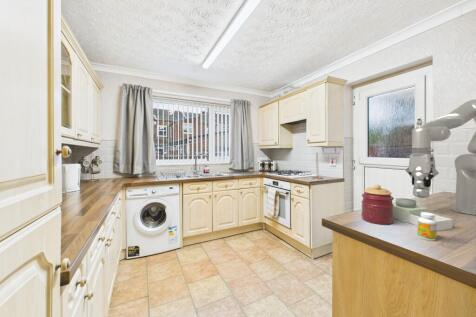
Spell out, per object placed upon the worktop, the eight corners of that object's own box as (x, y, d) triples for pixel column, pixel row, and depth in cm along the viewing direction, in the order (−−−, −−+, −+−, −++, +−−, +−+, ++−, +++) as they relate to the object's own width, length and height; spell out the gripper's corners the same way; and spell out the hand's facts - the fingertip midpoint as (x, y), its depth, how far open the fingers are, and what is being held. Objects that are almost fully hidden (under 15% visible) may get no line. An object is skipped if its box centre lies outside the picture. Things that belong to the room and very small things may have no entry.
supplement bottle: (413, 235, 84) (414, 211, 84) (426, 234, 85) (427, 211, 84) (427, 241, 79) (428, 216, 78) (440, 240, 79) (441, 215, 79)
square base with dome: (402, 213, 112) (402, 196, 112) (453, 228, 91) (454, 208, 91) (384, 215, 109) (385, 198, 109) (433, 231, 88) (434, 210, 88)
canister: (375, 226, 94) (376, 187, 93) (355, 216, 107) (355, 182, 106) (400, 224, 96) (401, 186, 95) (377, 215, 109) (378, 181, 108)
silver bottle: (432, 199, 106) (433, 160, 105) (417, 199, 107) (417, 160, 106) (424, 196, 112) (424, 159, 111) (409, 196, 113) (409, 159, 112)
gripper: (446, 151, 101) (445, 188, 102) (409, 150, 117) (409, 182, 118) (435, 151, 99) (434, 189, 100) (399, 151, 116) (399, 183, 117)
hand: (420, 185), depth 109 cm, fingers closed on silver bottle, 5 cm apart
